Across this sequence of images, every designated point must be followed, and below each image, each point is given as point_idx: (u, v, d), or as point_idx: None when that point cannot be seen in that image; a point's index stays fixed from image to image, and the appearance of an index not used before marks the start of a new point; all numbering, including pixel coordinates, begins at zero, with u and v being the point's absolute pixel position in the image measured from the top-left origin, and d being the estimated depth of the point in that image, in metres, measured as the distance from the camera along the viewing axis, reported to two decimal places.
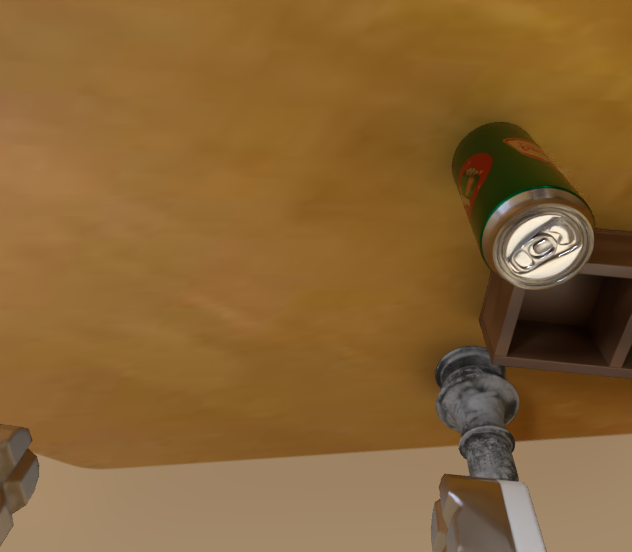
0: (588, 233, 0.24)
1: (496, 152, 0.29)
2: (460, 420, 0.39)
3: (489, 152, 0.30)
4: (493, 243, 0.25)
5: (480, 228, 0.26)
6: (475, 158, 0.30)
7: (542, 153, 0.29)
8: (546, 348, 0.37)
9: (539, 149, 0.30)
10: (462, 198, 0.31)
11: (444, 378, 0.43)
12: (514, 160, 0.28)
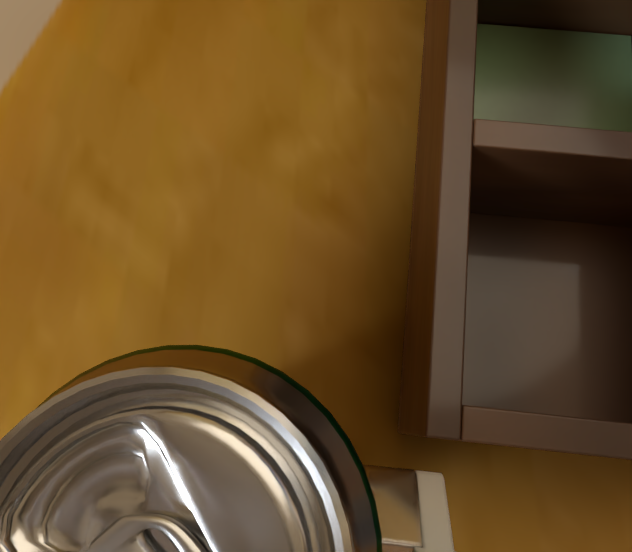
0: (93, 395, 0.06)
1: None
2: None
3: None
4: None
5: None
6: None
7: None
8: None
9: None
10: None
11: None
12: None
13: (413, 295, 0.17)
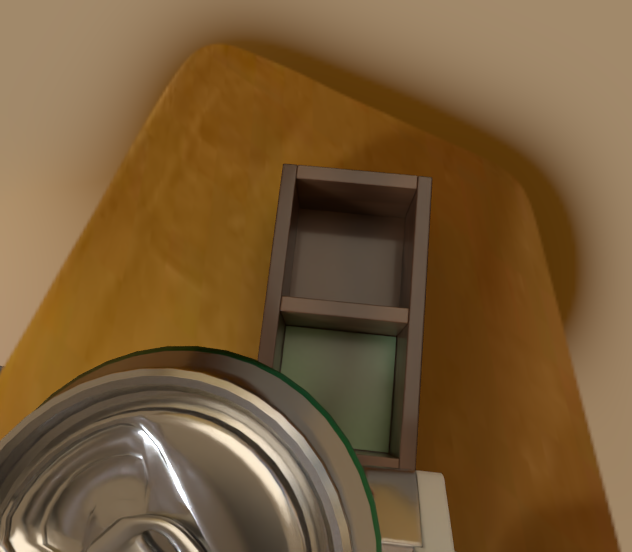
0: (93, 397, 0.06)
1: None
2: None
3: None
4: None
5: None
6: None
7: None
8: None
9: None
10: None
11: None
12: None
13: None
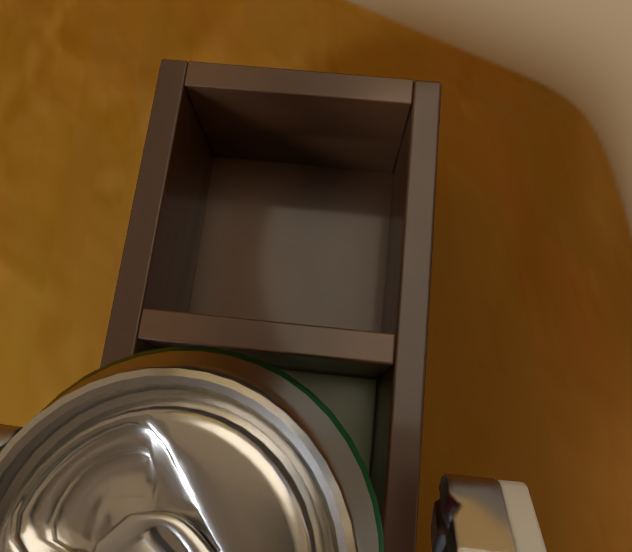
0: (101, 396, 0.06)
1: None
2: None
3: None
4: None
5: None
6: None
7: None
8: None
9: None
10: None
11: None
12: None
13: None
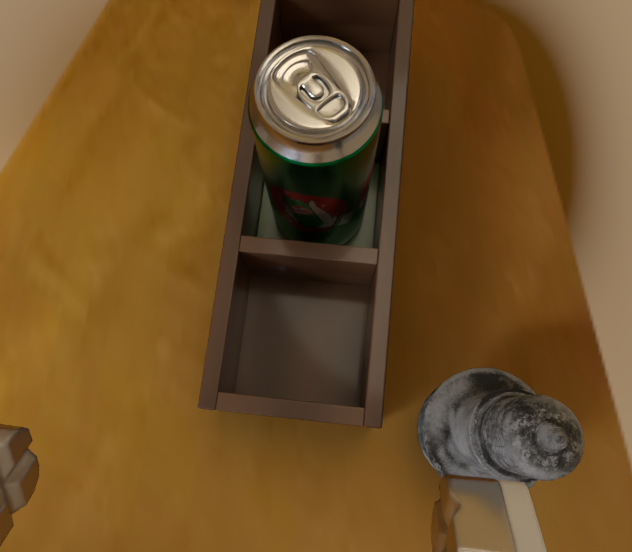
0: (295, 43, 0.20)
1: (267, 188, 0.26)
2: None
3: (271, 197, 0.26)
4: (311, 145, 0.19)
5: (305, 169, 0.20)
6: (281, 212, 0.26)
7: None
8: (368, 345, 0.26)
9: None
10: (327, 220, 0.26)
11: None
12: None
13: None
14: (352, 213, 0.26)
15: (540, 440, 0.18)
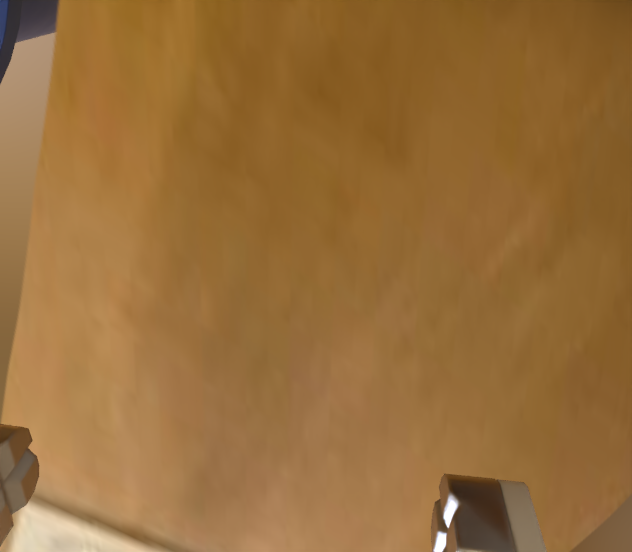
0: None
1: None
2: None
3: None
4: None
5: None
6: None
7: None
8: None
9: None
10: None
11: None
12: None
13: None
14: None
15: None
